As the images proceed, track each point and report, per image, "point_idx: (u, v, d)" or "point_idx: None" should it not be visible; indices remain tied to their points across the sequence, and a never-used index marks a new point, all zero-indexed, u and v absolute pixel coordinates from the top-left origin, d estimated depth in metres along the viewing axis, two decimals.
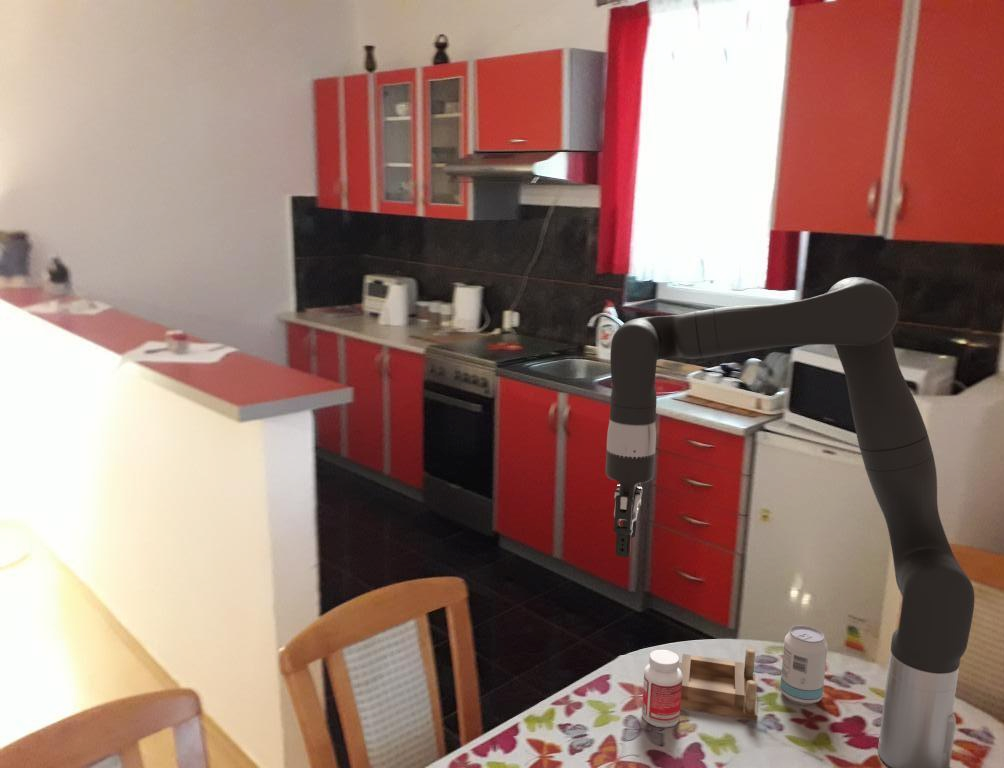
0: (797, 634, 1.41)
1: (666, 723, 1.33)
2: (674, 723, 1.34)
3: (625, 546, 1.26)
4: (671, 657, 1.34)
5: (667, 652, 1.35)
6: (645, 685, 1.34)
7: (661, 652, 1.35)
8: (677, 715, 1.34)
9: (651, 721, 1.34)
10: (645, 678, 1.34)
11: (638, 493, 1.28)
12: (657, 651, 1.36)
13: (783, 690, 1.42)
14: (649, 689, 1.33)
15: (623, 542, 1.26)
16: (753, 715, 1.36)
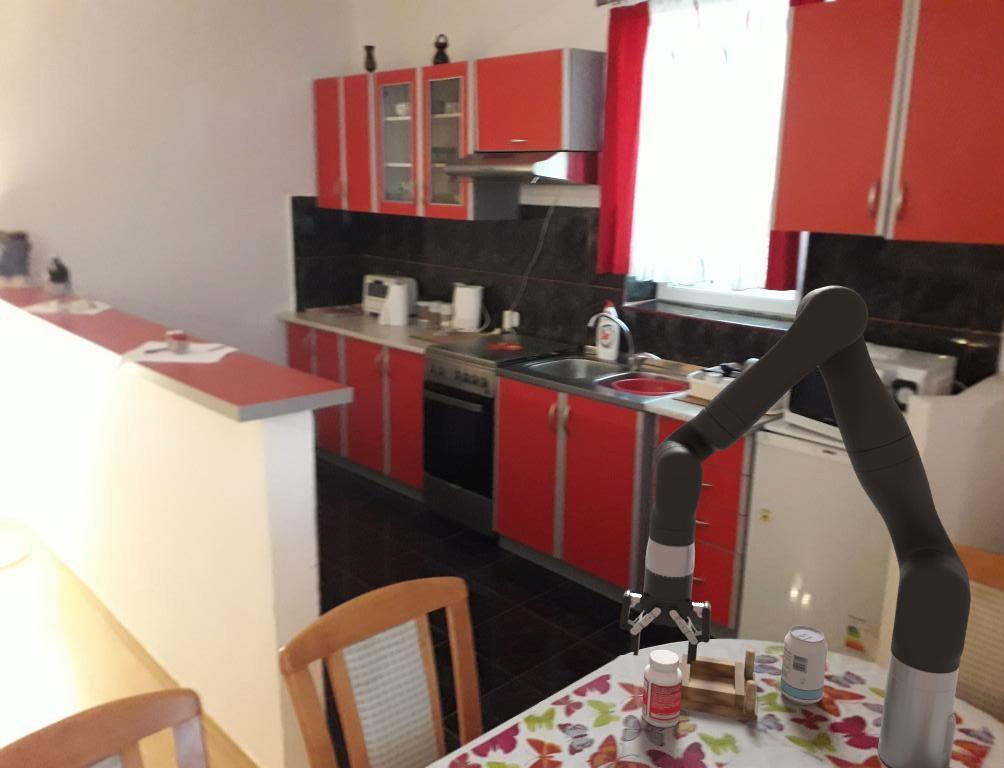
0: (797, 634, 1.41)
1: (666, 723, 1.33)
2: (674, 723, 1.34)
3: None
4: (671, 657, 1.34)
5: (667, 652, 1.35)
6: (645, 685, 1.34)
7: (661, 652, 1.35)
8: (677, 715, 1.34)
9: (651, 721, 1.34)
10: (645, 678, 1.34)
11: None
12: (657, 651, 1.36)
13: (783, 690, 1.42)
14: (649, 689, 1.33)
15: None
16: (753, 715, 1.36)
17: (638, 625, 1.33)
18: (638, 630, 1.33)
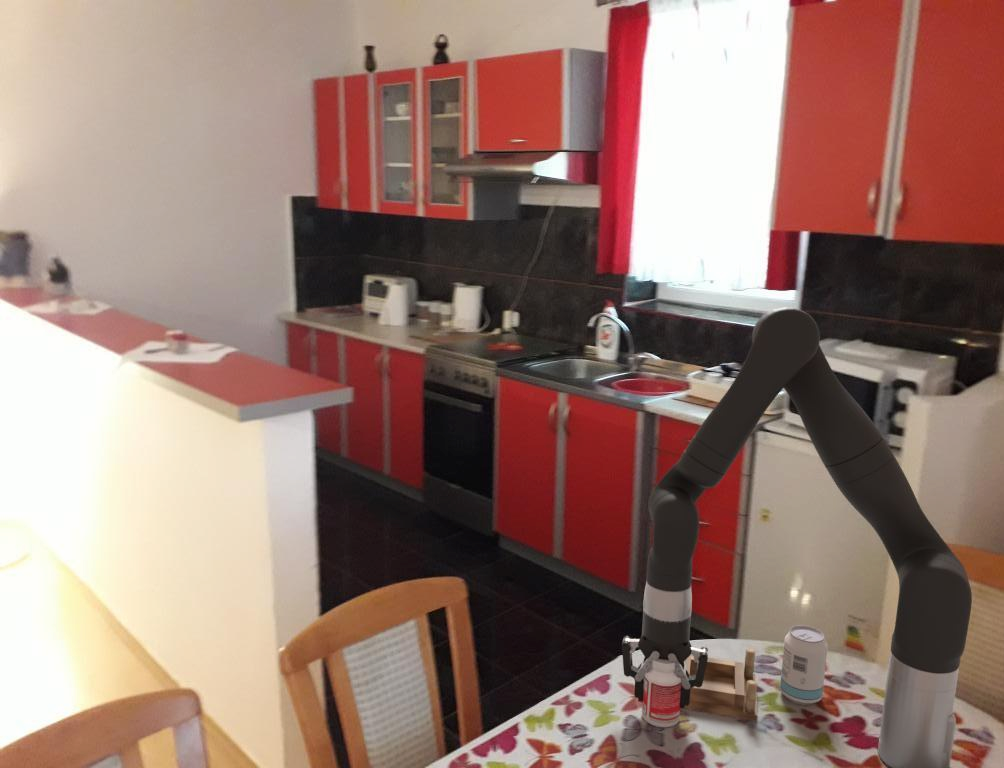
0: (797, 634, 1.41)
1: (666, 723, 1.33)
2: (674, 723, 1.34)
3: None
4: None
5: None
6: (645, 685, 1.34)
7: None
8: (677, 715, 1.34)
9: (651, 721, 1.34)
10: (645, 678, 1.34)
11: None
12: None
13: (783, 690, 1.42)
14: (649, 689, 1.33)
15: None
16: (753, 715, 1.36)
17: (641, 671, 1.34)
18: (642, 677, 1.34)
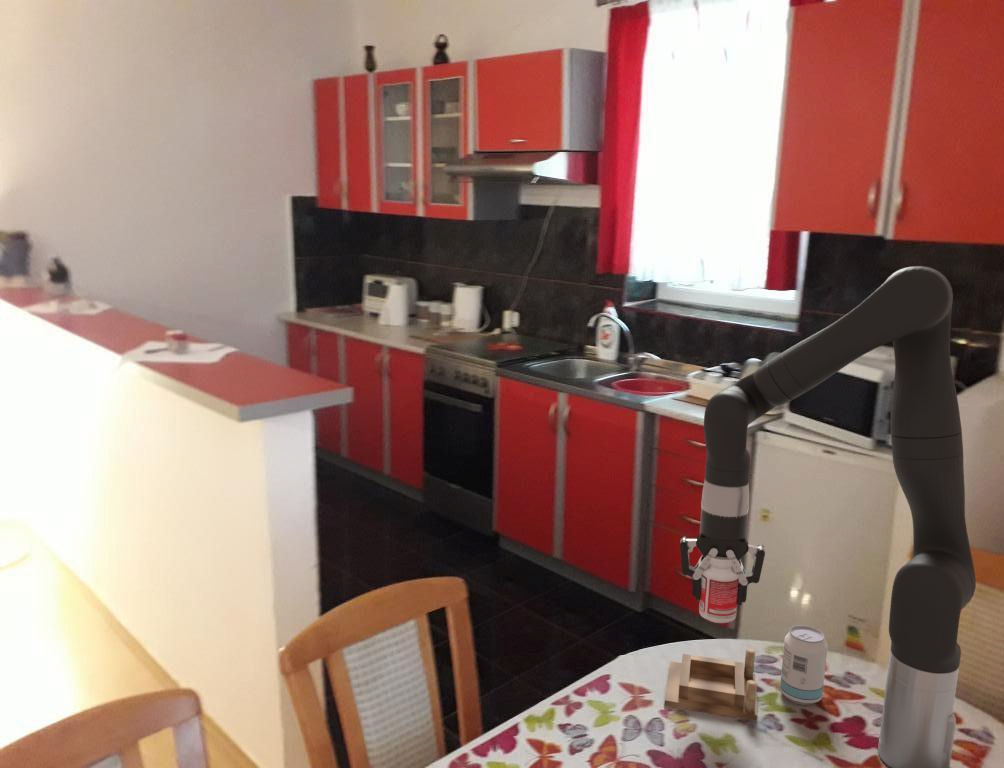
0: (797, 634, 1.41)
1: (724, 618, 1.37)
2: (731, 619, 1.38)
3: None
4: None
5: None
6: (703, 582, 1.38)
7: None
8: (734, 611, 1.38)
9: (709, 617, 1.38)
10: (703, 576, 1.38)
11: None
12: None
13: (783, 690, 1.42)
14: (708, 586, 1.37)
15: None
16: (753, 715, 1.36)
17: (699, 569, 1.38)
18: (700, 575, 1.39)
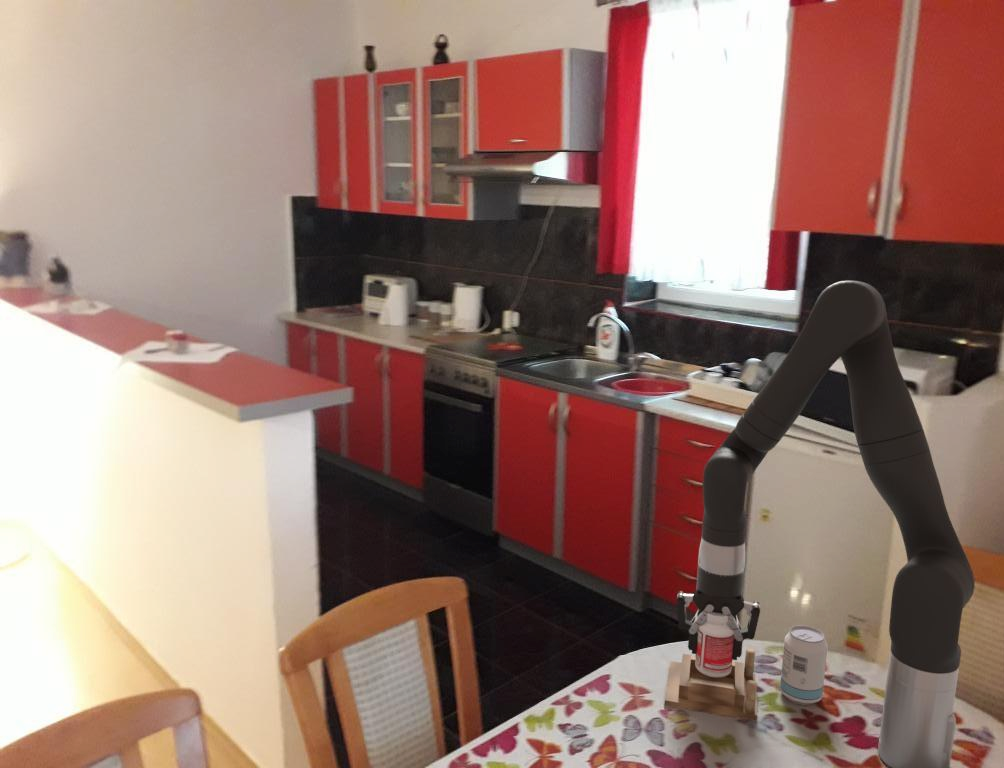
0: (797, 634, 1.41)
1: (719, 673, 1.40)
2: (727, 673, 1.40)
3: None
4: None
5: None
6: (699, 637, 1.41)
7: None
8: (730, 666, 1.40)
9: (704, 672, 1.40)
10: (699, 630, 1.41)
11: None
12: None
13: (783, 690, 1.42)
14: (703, 641, 1.40)
15: None
16: (753, 715, 1.36)
17: (695, 624, 1.41)
18: (696, 630, 1.41)
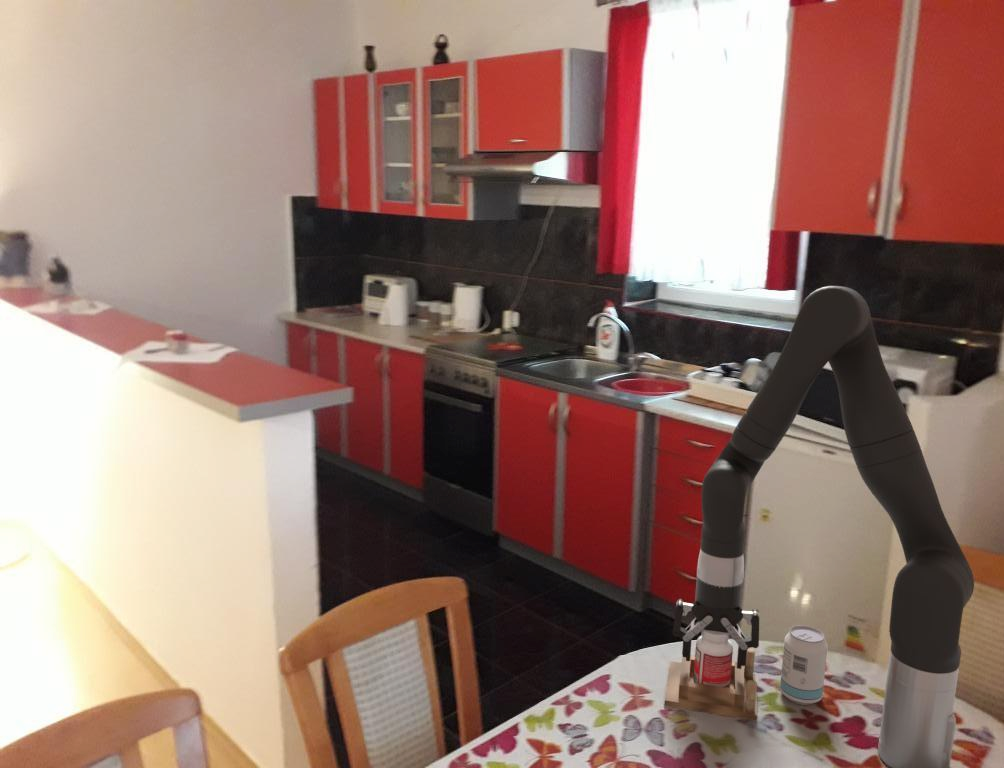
0: (797, 634, 1.41)
1: None
2: None
3: None
4: None
5: None
6: (697, 656, 1.41)
7: None
8: (728, 684, 1.41)
9: None
10: (697, 649, 1.41)
11: None
12: None
13: (783, 690, 1.42)
14: (702, 659, 1.40)
15: None
16: (753, 715, 1.36)
17: (690, 632, 1.41)
18: (690, 637, 1.42)
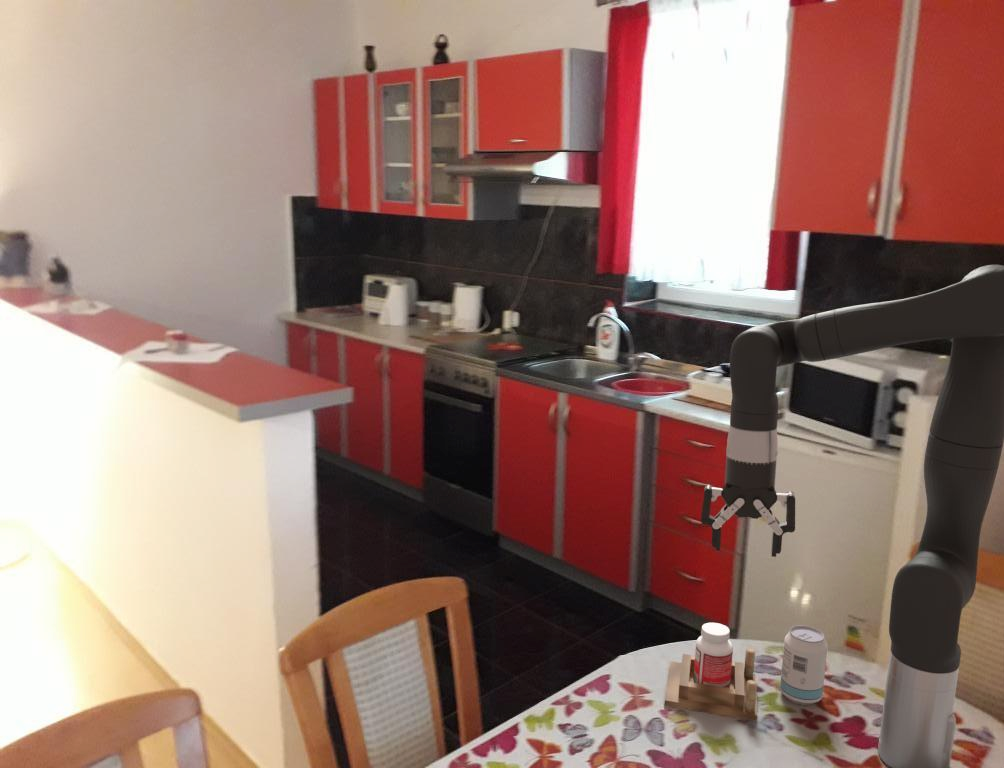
0: (797, 634, 1.41)
1: None
2: None
3: None
4: (722, 629, 1.41)
5: (718, 625, 1.43)
6: (697, 656, 1.41)
7: (712, 624, 1.43)
8: (728, 684, 1.41)
9: None
10: (697, 649, 1.41)
11: None
12: (708, 624, 1.43)
13: (783, 690, 1.42)
14: (702, 659, 1.40)
15: None
16: (753, 715, 1.36)
17: (720, 519, 1.31)
18: (720, 524, 1.31)
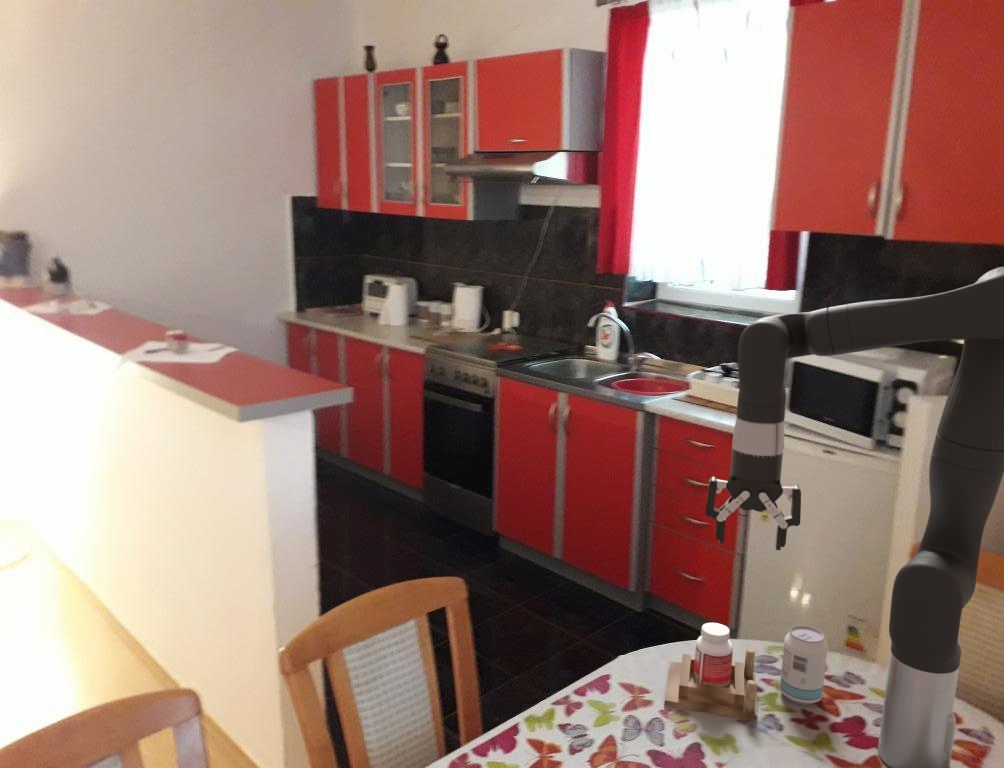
0: (797, 634, 1.41)
1: None
2: None
3: None
4: (722, 629, 1.41)
5: (718, 625, 1.43)
6: (697, 656, 1.41)
7: (712, 624, 1.43)
8: (728, 684, 1.41)
9: None
10: (697, 649, 1.41)
11: None
12: (708, 624, 1.43)
13: (783, 690, 1.42)
14: (701, 660, 1.40)
15: None
16: (753, 715, 1.36)
17: (725, 511, 1.30)
18: (725, 516, 1.30)
